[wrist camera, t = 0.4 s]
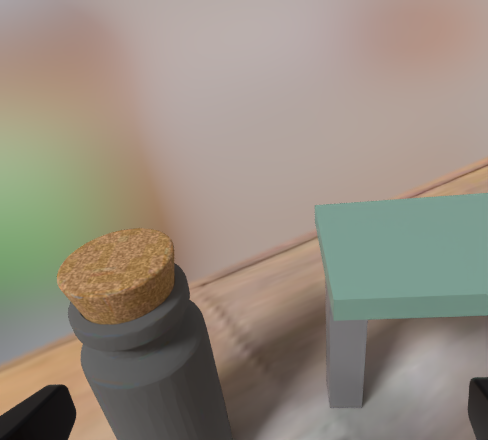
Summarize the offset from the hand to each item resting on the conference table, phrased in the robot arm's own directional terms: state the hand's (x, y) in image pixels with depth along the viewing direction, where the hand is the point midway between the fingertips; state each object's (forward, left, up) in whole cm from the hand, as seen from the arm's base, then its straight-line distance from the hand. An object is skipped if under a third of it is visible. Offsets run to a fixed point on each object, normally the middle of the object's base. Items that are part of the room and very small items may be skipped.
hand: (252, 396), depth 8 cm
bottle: (+7, +6, -16) cm, 18 cm away
